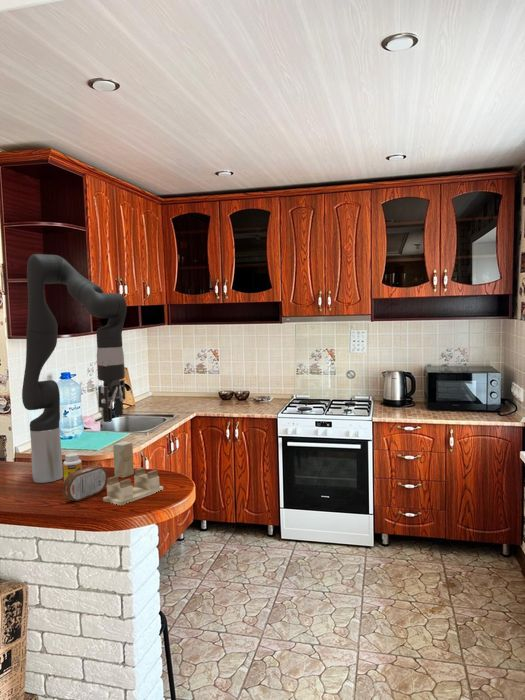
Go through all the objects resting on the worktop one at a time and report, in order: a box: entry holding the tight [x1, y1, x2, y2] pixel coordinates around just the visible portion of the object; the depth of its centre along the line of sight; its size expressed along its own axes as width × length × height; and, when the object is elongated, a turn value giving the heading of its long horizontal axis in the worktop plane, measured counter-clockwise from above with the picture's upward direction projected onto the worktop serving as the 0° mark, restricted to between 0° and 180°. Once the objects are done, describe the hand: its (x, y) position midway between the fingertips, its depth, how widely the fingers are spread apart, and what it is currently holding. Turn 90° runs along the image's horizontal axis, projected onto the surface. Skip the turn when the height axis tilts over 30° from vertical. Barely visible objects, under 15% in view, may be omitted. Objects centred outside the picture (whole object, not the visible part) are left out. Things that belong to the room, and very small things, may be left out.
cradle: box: [102, 467, 165, 507], centre depth 157 cm, size 8×16×6 cm, turn 142°
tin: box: [62, 465, 108, 502], centre depth 158 cm, size 15×3×8 cm, turn 150°
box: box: [112, 440, 135, 478], centre depth 179 cm, size 5×4×11 cm
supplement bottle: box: [62, 452, 83, 482], centre depth 169 cm, size 6×6×10 cm
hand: (113, 418), depth 153 cm, fingers open, 8 cm apart
